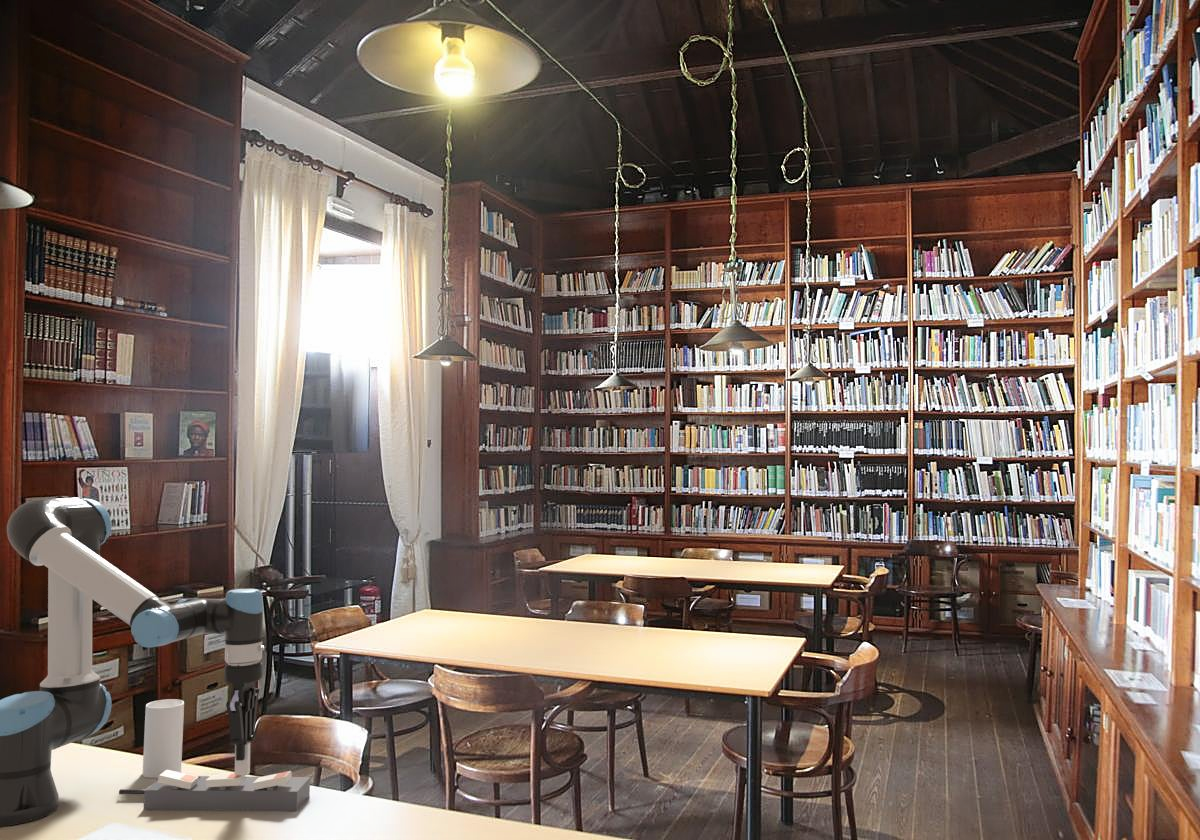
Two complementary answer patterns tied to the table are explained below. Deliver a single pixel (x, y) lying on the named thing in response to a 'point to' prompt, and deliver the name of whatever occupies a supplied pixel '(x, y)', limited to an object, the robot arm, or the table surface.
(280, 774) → the block
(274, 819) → the table surface
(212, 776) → the block
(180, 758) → the cup
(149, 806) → the strip
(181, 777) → the block
